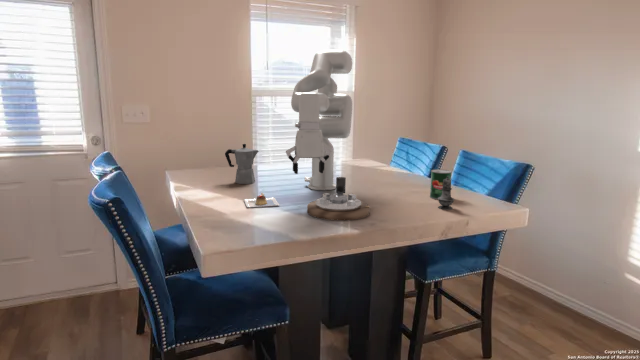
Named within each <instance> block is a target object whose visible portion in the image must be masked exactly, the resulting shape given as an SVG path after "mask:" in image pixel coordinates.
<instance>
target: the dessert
mask: <svg viewBox="0 0 640 360" xmlns="http://www.w3.org/2000/svg"><path fill="white" fill-rule="evenodd" d="M243 201H244V204H245V206H246V208H248V209H253V208H270V207H271V208H273V207H278V206H280V203H279V202H278V201H277V199H276V198H275V197H266V196H265V193H263V192H260V195H257V196H256V198H244V199H243ZM268 201H272V203H273V205H272V204H271V205H268ZM249 202H255V205H253V206H250V204H249Z"/></svg>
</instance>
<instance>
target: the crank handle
mask: <svg viewBox="0 0 640 360" xmlns="http://www.w3.org/2000/svg"><path fill="white" fill-rule="evenodd" d="M335 179H336V181H335V184H336V189H335V193H333V194H331V193H327V192H326V193H325V192H324V193H322V197H319V198H317V199H316V200H315V201H316V207H317V208H319V209H322V210H327V211H336V212H345V211H353V210H357V209H359V208H361V202H362V201H361V200H360V199H359V198H357V195H356V194H354V193H350V194H347V195H346V177H345V176H336V177H335Z"/></svg>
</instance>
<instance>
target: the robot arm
mask: <svg viewBox="0 0 640 360" xmlns="http://www.w3.org/2000/svg"><path fill="white" fill-rule="evenodd" d="M310 68H311V69H310V71H309V73H308V74H306V75H305V76H304V77H302V78H301V79H300V80H299V81H297V82H296V84H295V85H294V88H293V91H292V95H291V100H290V102H291V103H290V104H291V108H292V111H294V112H296V113H298V122H297V123H295V124H294V128H297V131H296V135H295V141H294V144H295V145H293V146H292V147H289V148H288V149H287V150H285V153H286V156H287V158H288V159H289V160H290V161H291V162H292V171H293V173H294V174H295V175H298V174H299V163H298V161H299V160H300V159H311V176H304V182H307V183H309V184H308V186H307V187H308V188H309V189H310V190H313V191H330V190H331V191H333V190H336V183H334V168H335V167H334V164H335V163H334V161H335V160H334V157H335V155H334V153H335V151H334V150H335V149H334V145H333V144H332V142H331V141H330V140H329V139H347V138H348V137H349V136H350V134H351V128H352V117H353V100H352V97H351V95H349V94H347V93H338V84H337V83H336V81H335V80H334V79H333V78H332V75H334V74H335V75H336V74H337V75H338V74H339V75H342V74H343V75H345V74H349V73H351V71H352V69H353V59H352V56H351V54H349V52H347V51H346V50H343V49H323V50H320V51H316V53H315V55H314V56H313V59H312V64H311V67H310ZM313 91H314V92H313ZM315 91H317V92H315ZM292 152H294V157H293V156H292V154H291V153H292Z"/></svg>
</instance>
